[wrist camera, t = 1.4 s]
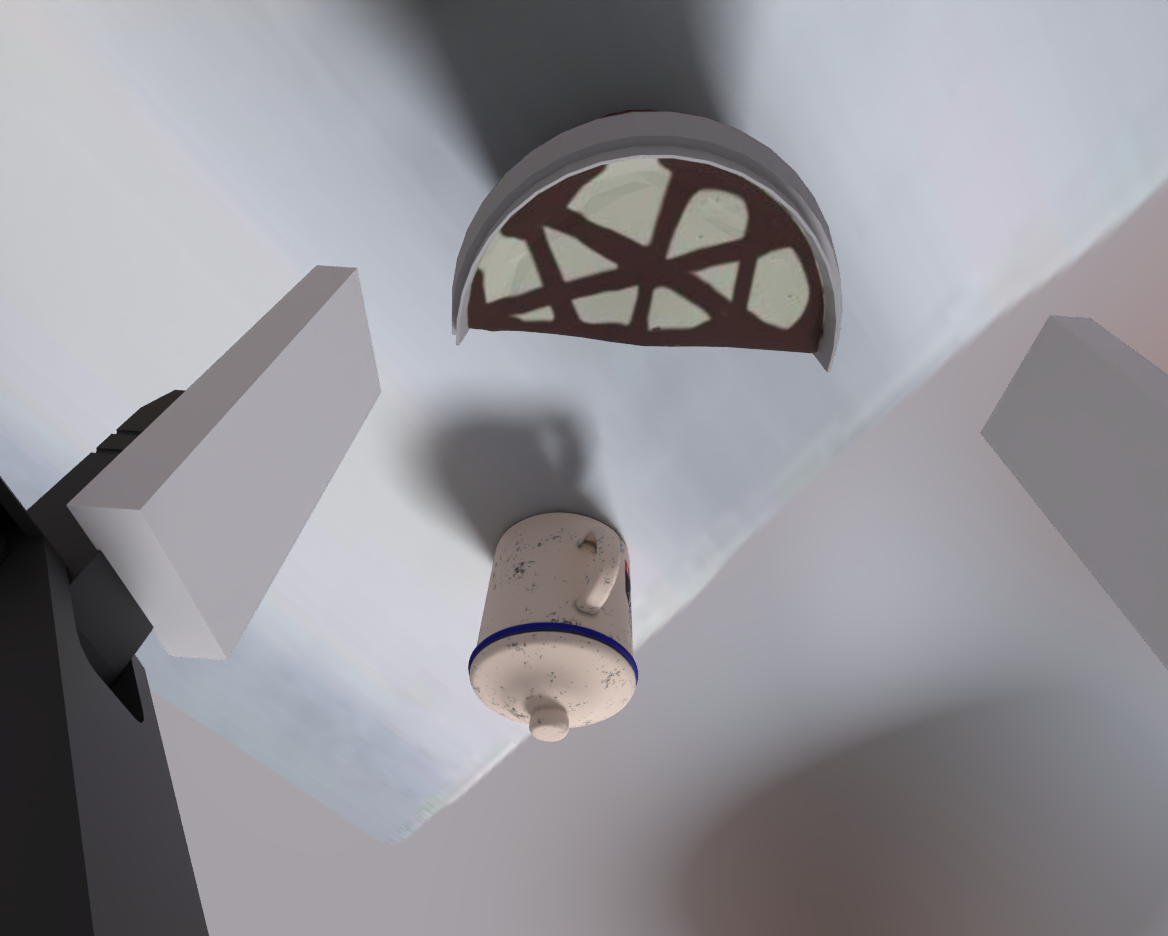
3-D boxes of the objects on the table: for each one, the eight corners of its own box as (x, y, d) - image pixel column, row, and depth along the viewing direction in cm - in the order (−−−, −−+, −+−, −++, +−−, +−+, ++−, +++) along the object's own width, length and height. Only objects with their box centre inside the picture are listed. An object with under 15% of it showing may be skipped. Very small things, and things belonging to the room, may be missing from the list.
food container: (821, 85, 22) (938, 148, 14) (775, 254, 26) (847, 374, 18) (483, 58, 22) (414, 106, 14) (489, 232, 25) (438, 344, 18)
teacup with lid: (597, 614, 42) (594, 787, 33) (474, 578, 40) (435, 752, 31) (681, 502, 35) (706, 684, 26) (537, 451, 33) (511, 629, 24)
